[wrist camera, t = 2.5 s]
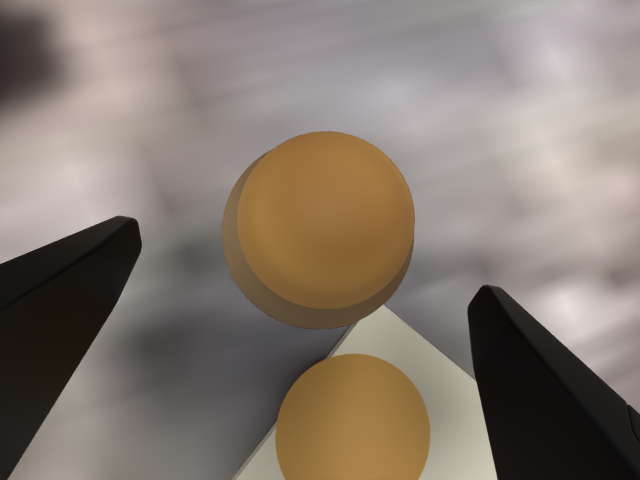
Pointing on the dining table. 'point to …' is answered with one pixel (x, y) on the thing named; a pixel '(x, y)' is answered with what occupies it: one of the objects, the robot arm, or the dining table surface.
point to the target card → (377, 414)
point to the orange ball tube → (319, 230)
